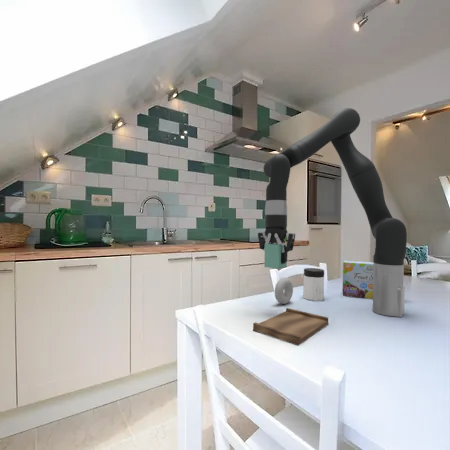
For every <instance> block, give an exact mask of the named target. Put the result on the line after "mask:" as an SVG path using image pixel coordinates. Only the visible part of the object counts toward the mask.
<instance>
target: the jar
mask: <svg viewBox="0 0 450 450" xmlns="http://www.w3.org/2000/svg"><path fill="white" fill-rule="evenodd" d="M302 293H303V297H302V298H303V299H306V300H309V301H315V302H316V301H324V297H325V295H324V293H325V270H324V269H323V268H315V267H307V268H303V291H302Z"/></svg>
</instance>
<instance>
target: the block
mask: <svg viewBox="0 0 450 450" xmlns="http://www.w3.org/2000/svg"><path fill="white" fill-rule="evenodd" d="M286 246H287V245H286ZM281 253H282V252H281V246H280V245H278V243H273V244H265V251H264V268H269V269H276V270H277V269H284V268H287V267H288V265H287V264H288V263H287V262H288V261H287V262H286V263H285V264H281Z"/></svg>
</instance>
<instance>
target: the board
mask: <svg viewBox="0 0 450 450" xmlns="http://www.w3.org/2000/svg"><path fill="white" fill-rule="evenodd" d="M252 325H253V326H252V331H254V332H257V333H261V334H263V335H267V336H270V337H272V338H276V339H279V340H281V341H284V342H285V341H286V342H287V343H291V344H293V345H297V346H299V345H301V344H302V343H304V342H305V341H306V340H308V339H309V338H311V337H312V336H314V335H315V334H317V333H319V332H320V331H321V330H322V329H324V328H325V327H326V326H328V325H329V317H327V316H323V315H318V314H315V313H310V312H307V311H302V310H299V309H298V310H297V309H294V308H289V307H287V308H286V309H285V311H282V312H281V313H279V314H276V315H274V316H273V317H270V318H268V319H266V320H264V321H261V322H259V323H258V322H254V323H253V324H252Z"/></svg>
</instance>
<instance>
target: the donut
mask: <svg viewBox="0 0 450 450" xmlns="http://www.w3.org/2000/svg"><path fill="white" fill-rule="evenodd" d="M293 294H294V287H293V283H292V282H291V279H290V278H287V277H281V278H279V280H278V281H277V282H276V283H275V287H274V297H275V300H276V302H278V304H281V305H286V304H288V303H289V302H290V301H291V299H292V297H293Z"/></svg>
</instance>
